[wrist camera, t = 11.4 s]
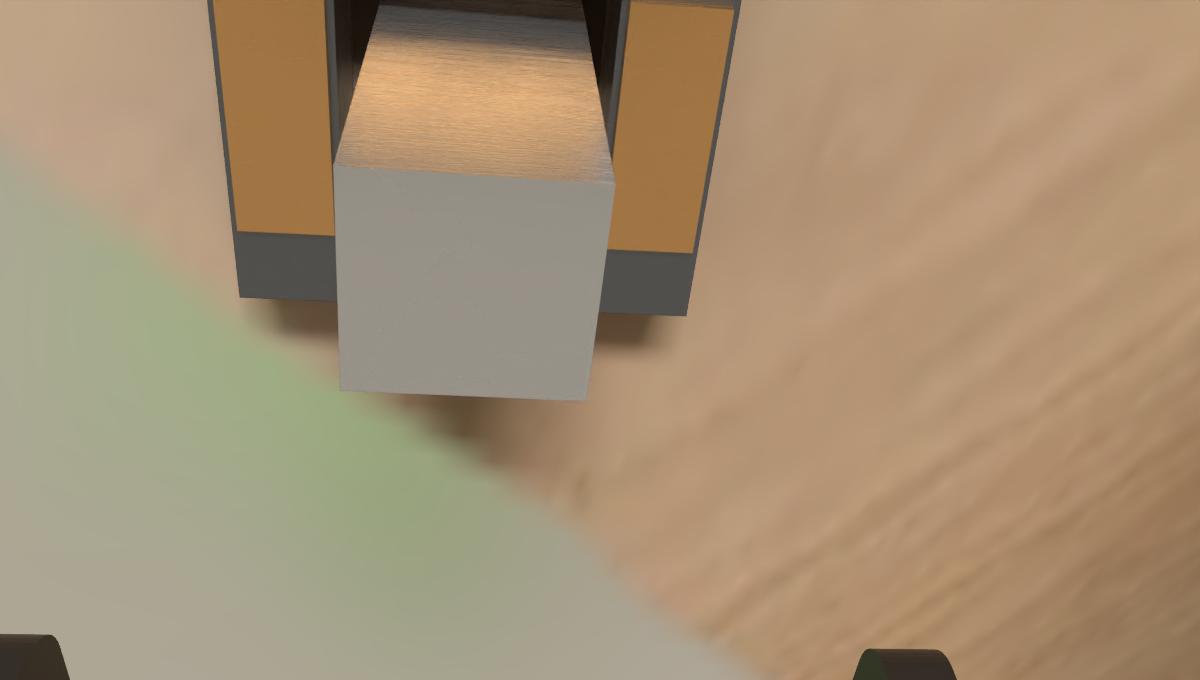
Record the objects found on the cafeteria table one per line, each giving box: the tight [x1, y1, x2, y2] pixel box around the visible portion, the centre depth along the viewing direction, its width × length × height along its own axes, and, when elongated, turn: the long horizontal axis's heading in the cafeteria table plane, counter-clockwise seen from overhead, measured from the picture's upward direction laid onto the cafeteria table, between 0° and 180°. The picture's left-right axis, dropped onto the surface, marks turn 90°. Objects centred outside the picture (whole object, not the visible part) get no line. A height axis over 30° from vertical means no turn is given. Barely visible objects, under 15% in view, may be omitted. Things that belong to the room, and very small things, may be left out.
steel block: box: [333, 0, 616, 401], centre depth 20 cm, size 4×4×9 cm
